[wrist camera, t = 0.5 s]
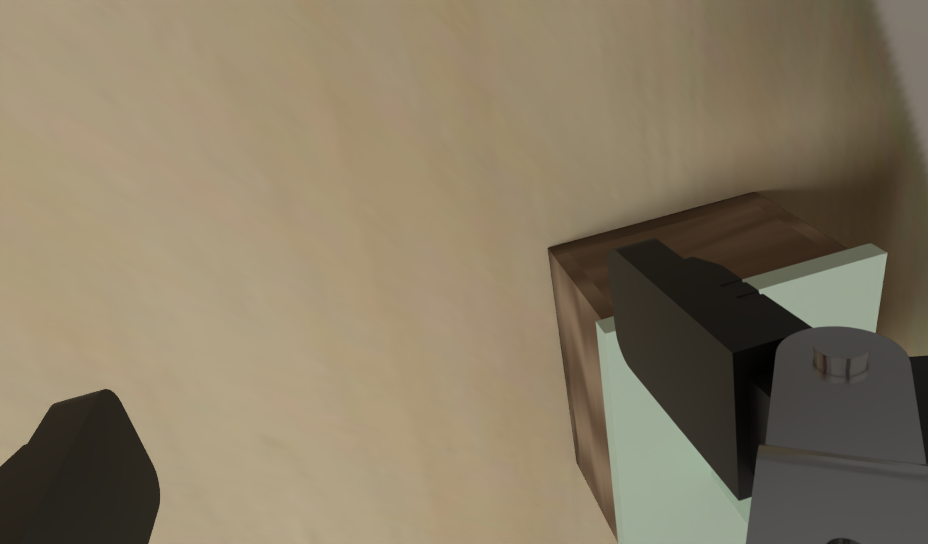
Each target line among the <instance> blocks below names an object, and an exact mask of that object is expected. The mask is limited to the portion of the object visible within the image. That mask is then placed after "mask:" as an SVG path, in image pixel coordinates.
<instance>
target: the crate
mask: <svg viewBox="0 0 928 544" xmlns="http://www.w3.org/2000/svg"><path fill="white" fill-rule="evenodd" d="M649 238H656V239H658V240H659V241H660V242H662V243H663V244H665V245H666V246H667V247H669V248H670V249H671V250H673V251H674V252H675V253H677V254H678V255H679V256H681V257H682V258H683V259H686V258H689V257H696V258H699V259H703V260H706V261H710V262H713V263H716V264H720V265H722V266H724V267H725V268H727V269H728V270H730V271H731V272H733V273H734V274H735V275H737V276H738V277H740V278H741V279H746V278H749V277H753V276H756V275H760V274H763V273H767V272H770V271H774V270H777V269H781V268H784V267H788V266H791V265H795V264H798V263H802V262H805V261H809V260H812V259H816V258H819V257H823V256H826V255H830V254H833V253H837V252H840V251H844V250H847V249H848V248H846V247H844V246H843V245H841V244H839V243H838V242H836V241H835V240H833V239H831V238H830V237H828V236H826V235H825V234H823V233H821V232H820V231H818V230H817V229H815V228H813V227H812V226H810V225H808V224H807V223H805V222H803V221H802V220H800V219H798V218H797V217H795V216H794V215H792V214H790V213H789V212H787V211H785V210H784V209H782V208H780V207H779V206H777V205H775V204H774V203H772V202H771V201H769V200H767V199H766V198H764V197H762V196H761V195H759V194H757V193H756V192H753V193H749V194H745V195H742V196H738V197H734V198H731V199H727V200H723V201H719V202H716V203H712V204H708V205H705V206H701V207H697V208H694V209H690V210H686V211H683V212H679V213H675V214H672V215H668V216H664V217H661V218H657V219H653V220H649V221H646V222H642V223H638V224H635V225H631V226H627V227H624V228H620V229H616V230H613V231H609V232H605V233H602V234H598V235H594V236H591V237H587V238H583V239H579V240H576V241H572V242H568V243H565V244H561V245H557V246H554V247H550V248H548V254H549V262H550V269H551V277H552V284H553V291H554V299H555V306H556V313H557V321H558V328H559V336H560V343H561V350H562V358H563V365H564V373H565V380H566V387H567V395H568V402H569V409H570V417H571V424H572V432H573V439H574V446H575V454H576V461H577V464H578V466H579V468H580V470H581V472H582V474H583V476H584V478H585V480H586V482H587V484H588V486H589V488H590V490H591V491H592V493H593V495H594V497H595V499H596V501H597V503H598V505H599V507H600V509H601V511H602V513H603V515H604V517H605V519H606V521H607V523H608V525H609V527H610V528H611V530H612V532H613V534H614V536H615V538H616V540H617V542H618V537H617V527H616V517H615V507H614V497H613V487H612V477H611V467H610V458H609V448H608V438H607V428H606V418H605V408H604V398H603V389H602V379H601V369H600V359H599V349H598V339H597V329H596V321H599V320H602V319H606V318H609V317H613V316H614V315H613V307H612V299H611V292H610V284H609V276H608V268H607V255H608V252H609V250H610V249H613V248H617V247H621V246H624V245H628V244H631V243H635V242H638V241H642V240H646V239H649Z"/></svg>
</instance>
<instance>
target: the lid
mask: <svg viewBox="0 0 928 544" xmlns="http://www.w3.org/2000/svg"><path fill="white" fill-rule="evenodd" d="M886 259H887V252H885V251H884V250H882V249H880V248H879V247H877V246H875V245H873V244H872V243H869V244H865V245H862V246H858V247H855V248H851V249H847V250H844V251H840V252H837V253H833V254H830V255H826V256H823V257H819V258H816V259H812V260H809V261H805V262H802V263H798V264H795V265H791V266H788V267H784V268H781V269H777V270H774V271H770V272H767V273H763V274H760V275H756V276H753V277H749V278H746V279H742V281H743V282H747V283H749V284H750V285H751V286H753V287H754V288H756V289H757V290H759V293H760V294H765V295H766V296H767V297H769V298H770V299H772V300H773V301H775V302H776V303H778V304H779V305H781V306H782V307H783V308H785V309H786V310H788V311H789V312H791V313H792V314H794V315H795V316H797V317H798V318H800V319H801V320H802V321H804V322H805V323H807V324H808V325H810V326H811V327H813V328H816V327H825V326H842V327H852V328H858V329H863V330H867V331H871V332H874V333H876V326H877V319H878V313H879V306H880V299H881V293H882V286H883V279H884V273H885V266H886ZM596 329H597V339H598V349H599V359H600V369H601V379H602V389H603V398H604V408H605V418H606V428H607V438H608V448H609V458H610V467H611V477H612V487H613V497H614V507H615V517H616V527H617V537H618V544H746V537H747V529H748V522H749V514H750V506H751V498H752V497H750V498H747V499H744V500H741V501H738V499H737V498H736V497H735V496H734V495H733V493H732V492H731V491H730V490H729V488H728V487H727V486H726V485H725V484H724V482H723V481H722V480H721V479H720V478H719V476H718V475H717V474H716V473H715V471H714V470H713V469H712V468H711V467H710V465H709V464H708V463H707V462H706V461H705V459H704V458H703V457H702V456H701V454H700V453H699V452H698V451H697V450H696V448H695V447H694V446H693V445H692V444H691V442H690V441H689V440H688V439H687V437H686V436H685V435H684V434H683V433H682V431H681V430H680V429H679V428H678V427H677V425H676V424H675V423H674V422H673V420H672V419H671V418H670V417H669V416H668V414H667V413H666V412H665V411H664V410H663V408H662V407H661V406H660V405H659V403H658V402H657V401H656V400H655V399H654V397H653V396H652V395H651V394H650V393H649V391H648V390H647V389H646V388H645V386H644V385H643V384H642V383H641V382H640V380H639V379H638V378H637V377H636V376H635V374H634V373H633V372H632V371H631V369H630V368H629V367H628V365H627V363H626V362H625V360H624V358H623V355H622V353H621V350H620V347H619V344H618V341H617V336H616V331H615V323H614V316H613V317H609V318H606V319H602V320H599V321H596Z"/></svg>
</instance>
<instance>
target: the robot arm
mask: <svg viewBox="0 0 928 544" xmlns="http://www.w3.org/2000/svg"><path fill="white" fill-rule="evenodd" d="M607 268H608V276H609V284H610V292H611V299H612V307H613V315H614V323H615V331H616V336H617V341H618V344H619V347H620V350H621V353H622V355H623V358H624V360H625V362H626V363H627V365H628V367H629V368H630V369H631V371H632V372H633V373H634V374H635V376H636V377H637V378H638V379H639V380H640V382H641V383H642V384H643V385H644V386H645V388H646V389H647V390H648V391H649V393H650V394H651V395H652V396H653V397H654V399H655V400H656V401H657V402H658V403H659V405H660V406H661V407H662V408H663V410H664V411H665V412H666V413H667V414H668V416H669V417H670V418H671V419H672V420H673V422H674V423H675V424H676V425H677V427H678V428H679V429H680V430H681V431H682V433H683V434H684V435H685V436H686V437H687V439H688V440H689V441H690V442H691V444H692V445H693V446H694V447H695V448H696V450H697V451H698V452H699V453H700V454H701V456H702V457H703V458H704V459H705V461H706V462H707V463H708V464H709V465H710V467H711V468H712V469H713V470H714V471H715V473H716V474H717V475H718V476H719V478H720V479H721V480H722V481H723V482H724V484H725V485H726V486H727V487H728V488H729V490H730V491H731V492H732V493H733V495H734V496H735V497H736V498H737V499H738V501H741V500H744V499H747V498H750V497H752V498H751V506H750V514H749V522H748V529H747V537H746V544H928V356H916V357H909V356H908V355H907V353H906V352H905V350H904V349H903V348H901V347H900V346H899V345H898V344H897V343H895V342H894V341H892V340H890V339H888V338H886V337H884V336H882V335H879V334H877V333H874V332H871V331H867V330H863V329H858V328H852V327H842V326H825V327H816V328H813V327H811V326H810V325H808V324H807V323H805V322H804V321H802V320H801V319H800V318H798V317H797V316H795V315H794V314H792V313H791V312H789V311H788V310H786V309H785V308H783V307H782V306H781V305H779V304H778V303H776V302H775V301H773V300H772V299H770V298H769V297H767V296H766V295H765V294H760V293H759V290H757V289H756V288H754V287H753V286H751V285H750V284H749V283H747V282H743V281H742V279H741V278H740V277H738V276H737V275H735V274H734V273H733V272H731V271H730V270H728V269H727V268H725V267H724V266H722V265H720V264H716V263H713V262H710V261H706V260H703V259H699V258H696V257H689V258H686V259H683V258H682V257H681V256H679V255H678V254H677V253H675V252H674V251H673V250H671V249H670V248H669V247H667V246H666V245H665V244H663V243H662V242H660V241H659V240H658V239H656V238H649V239H646V240H642V241H638V242H635V243H631V244H628V245H624V246H621V247H617V248H613V249H610V250H609V252H608V255H607ZM159 504H160V488H159V482H158V477H157V474H156V471H155V468H154V466H153V464H152V462H151V460H150V458H149V456H148V454H147V452H146V450H145V448H144V446H143V444H142V442H141V440H140V438H139V436H138V434H137V432H136V431H135V429H134V427H133V425H132V423H131V421H130V419H129V417H128V415H127V413H126V411H125V409H124V407H123V405H122V403H121V401H120V400H119V398H118V397H117V395H116V394H115V393H114V392H112V391H111V390H108V389H104V390H100V391H97V392H93V393H89V394H86V395H82V396H79V397H75V398H72V399H68V400H64V401H61V402H57V403H54V404H53V405H52V406H51V407H50V408H49V410H48V412H47V413H46V415H45V416H44V418H43V420H42V421H41V423H40V424H39V426H38V428H37V429H36V431H35V432H34V434H33V436H32V437H31V439H30V440H29V442H28V444H26V445H23V446H22V447H21V448H20V449H19V450H18V451H17V452H16V453H15V454H14V455H12V456H11V457H10V458H9V459H8V460H7V461H6V462H5V463H4V464H3V465H2V466H0V544H148V543H149V540H150V536H151V533H152V529H153V526H154V523H155V519H156V516H157V512H158V509H159Z"/></svg>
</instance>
